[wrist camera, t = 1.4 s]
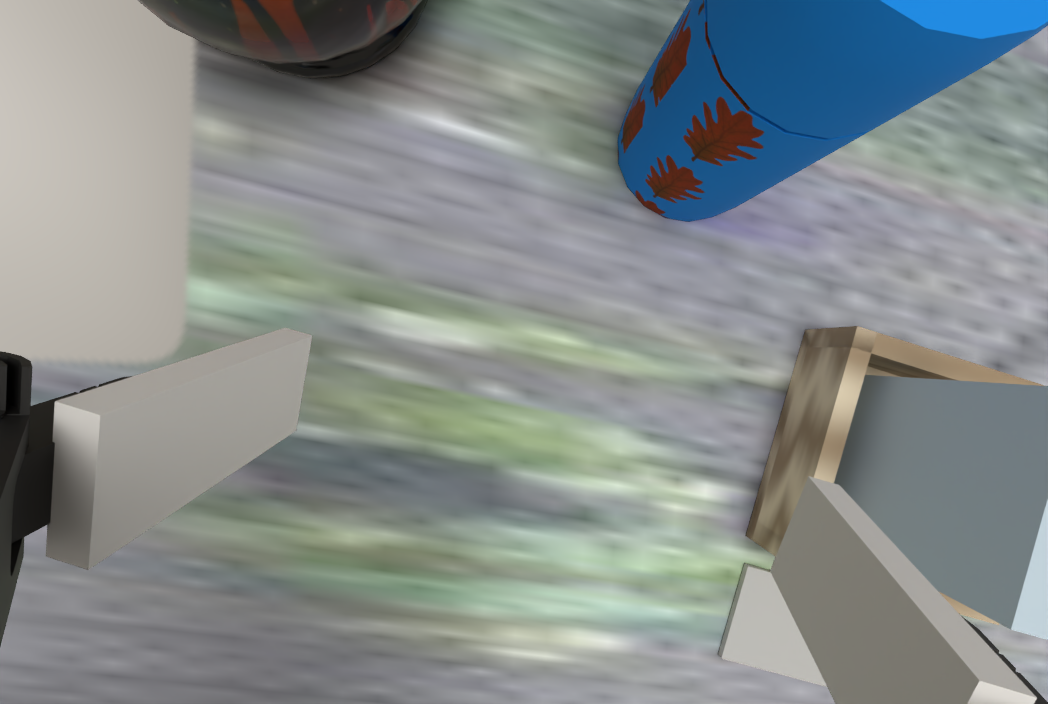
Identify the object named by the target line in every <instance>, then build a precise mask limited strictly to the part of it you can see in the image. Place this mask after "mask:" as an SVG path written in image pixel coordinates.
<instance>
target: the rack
mask: <svg viewBox="0 0 1048 704" xmlns="http://www.w3.org/2000/svg"><path fill="white" fill-rule="evenodd" d="M865 375H877V376H893V377H909V378H925V379H941V380H957V381H973V382H989V383H1005V384H1021V385H1037V386H1044V385H1041V384H1038V383H1035V382H1031V381H1028V380H1025V379H1022V378H1019V377H1016V376H1013V375H1009V374H1006V373H1003V372H1000V371H997V370H994V369H990V368H987V367H984V366H981V365H978V364H975V363H972V362H968V361H965V360H962V359H959V358H956V357H953V356H949V355H946V354H943V353H940V352H937V351H934V350H931V349H927V348H924V347H921V346H918V345H915V344H912V343H909V342H905V341H902V340H899V339H896V338H893V337H890V336H886V335H883V334H880V333H877V332H874V331H871V330H868V329H864V328H861V327H858V326H854V327H839V328H823V329H808V330H805V333H804V336H803V340H802V343H801V347H800V350H799V354H798V357H797V361H796V364H795V367H794V371H793V374H792V378H791V381H790V385H789V388H788V392H787V395H786V398H785V402H784V405H783V409H782V412H781V416H780V419H779V423H778V426H777V429H776V433H775V436H774V440H773V443H772V447H771V450H770V454H769V457H768V460H767V464H766V467H765V471H764V474H763V478H762V481H761V485H760V488H759V492H758V495H757V498H756V502H755V505H754V509H753V512H752V516H751V519H750V523H749V526H748V529H747V533H746V536H747V537H749V538H750V539H751V540H753V541H754V542H756V543H757V544H759V545H760V546H761V547H763V548H764V549H766V550H767V551H769V552H770V553H771V554H773V555H774V556H776V555H777V552H778V550H779V547H780V545H781V542H782V540H783V538H784V535H785V533H786V530H787V528H788V525H789V523H790V520H791V518H792V515H793V513H794V510H795V508H796V506H797V503H798V501H799V498H800V496H801V493H802V491H803V488H804V486H805V483H806V481H807V478H808V476H810V477H813V478H817V479H820V480H824V481H827V482H831V483H834V481H835V478H836V474H837V471H838V467H839V464H840V460H841V457H842V453H843V450H844V446H845V443H846V439H847V436H848V432H849V429H850V425H851V422H852V418H853V415H854V411H855V408H856V404H857V401H858V398H859V394H860V391H861V387H862V384H863V380H864V377H865ZM938 592H939V591H938ZM939 593H940V594H941V595H942V596H943V597H944V598H945V599H946V600H947V601H948V603H949V604H950V605H951V606H952V607H953V608H954V609H955V610H956V611H957V612H958V613H959V614H962V615H965V616H969V617H972V618H976V619H979V620H983V621H986V622H990V623H993V624H997V625H999V623H998V622H996V621H994V620H992V619H990V618H988V617H986V616H984V615H982V614H981V613H979V612H977V611H975V610H973V609H971V608H969V607H967V606H965V605H963V604H962V603H960V602H958V601H956V600H954V599H952V598H950V597H948V596H946V595H945V594H943V593H941V592H939Z"/></svg>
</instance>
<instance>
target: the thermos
mask: <svg viewBox="0 0 1048 704" xmlns="http://www.w3.org/2000/svg"><path fill="white" fill-rule="evenodd" d="M1046 26H1048V0H690V2H689V3H688V5H687V7H686V8H685V10H684V12H683V13H682V15H681V17H680V19H679V20H678V22H677V24H676V25H675V27H674V29H673V30H672V32H671V34H670V35H669V37H668V39H667V40H666V42H665V44H664V45H663V47H662V49H661V51H660V52H659V54H658V56H657V57H656V59H655V61H654V62H653V64H652V66H651V67H650V69H649V71H648V72H647V74H646V76H645V78H644V79H643V81H642V83H641V84H640V86H639V88H638V89H637V91H636V93H635V96H634V98H633V100H632V102H631V104H630V106H629V109H628V111H627V113H626V115H625V118H624V121H623V124H622V127H621V130H620V133H619V136H618V164H619V166H620V169H621V171H622V174H623V177H624V179H625V182H626V184H627V187H628V188H629V189H630V190H631V191H632V193H633V194H634V195H635V196H636V197H637V198H638V200H639V201H640V202H641V203H642V204H643V205H644V206H645V207H647V208H649V209H651V210H652V211H654V212H656V213H658V214H659V215H661V216H663V217H665V218H670V219H676V220H682V221H688V222H690V221H695V220H700V219H705V218H710V217H714V216H716V215H718V214H721V213H723V212H725V211H728V210H730V209H732V208H735V207H737V206H739V205H740V204H742V203H744V202H746V201H747V200H749V199H751V198H753V197H754V196H756V195H758V194H760V193H761V192H763V191H765V190H767V189H768V188H770V187H772V186H774V185H776V184H777V183H779V182H781V181H783V180H784V179H786V178H788V177H790V176H791V175H793V174H795V173H797V172H798V171H800V170H802V169H804V168H806V167H807V166H809V165H811V164H813V163H814V162H816V161H818V160H820V159H821V158H823V157H825V156H827V155H828V154H830V153H832V152H834V151H836V150H837V149H839V148H841V147H843V146H844V145H846V144H848V143H850V142H851V141H853V140H855V139H857V138H858V137H860V136H862V135H864V134H866V133H867V132H869V131H871V130H873V129H874V128H876V127H878V126H880V125H881V124H883V123H885V122H887V121H888V120H890V119H892V118H894V117H896V116H897V115H899V114H901V113H903V112H904V111H906V110H908V109H910V108H911V107H913V106H915V105H917V104H918V103H920V102H922V101H924V100H926V99H927V98H929V97H931V96H933V95H934V94H936V93H938V92H940V91H941V90H943V89H945V88H947V87H948V86H950V85H952V84H954V83H955V82H957V81H959V80H961V79H963V78H964V77H966V76H968V75H970V74H971V73H973V72H975V71H977V70H978V69H980V68H982V67H984V66H985V65H987V64H989V63H991V62H992V61H994V60H995V59H997V58H999V57H1000V56H1002V55H1003V54H1005V53H1007V52H1008V51H1010V50H1011V49H1013V48H1015V47H1016V46H1018V45H1020V44H1021V43H1023V42H1024V41H1026V40H1028V39H1029V38H1031V37H1032V36H1034V35H1035V34H1037V33H1038V32H1039V31H1041V30H1042V29H1043V28H1045V27H1046Z"/></svg>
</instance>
